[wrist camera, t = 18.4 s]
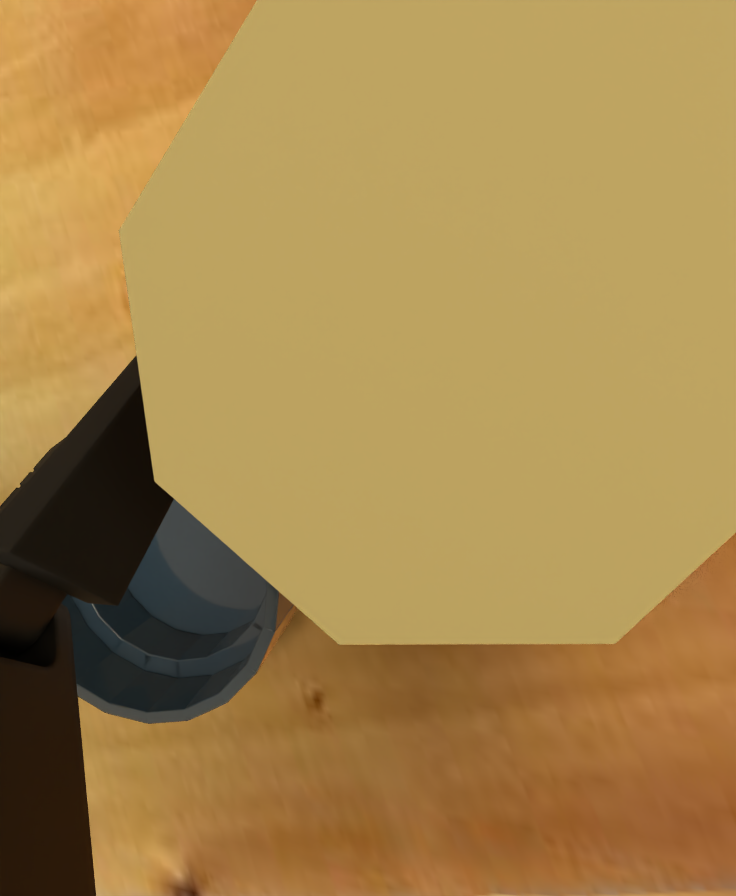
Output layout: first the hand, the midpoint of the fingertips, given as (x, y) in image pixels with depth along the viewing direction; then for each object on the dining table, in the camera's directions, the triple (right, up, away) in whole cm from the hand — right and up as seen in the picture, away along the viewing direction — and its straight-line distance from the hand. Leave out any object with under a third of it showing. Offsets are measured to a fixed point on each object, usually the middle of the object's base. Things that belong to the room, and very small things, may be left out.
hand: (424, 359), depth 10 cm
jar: (+2, 0, +9) cm, 9 cm away
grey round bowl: (-12, -8, +12) cm, 19 cm away
